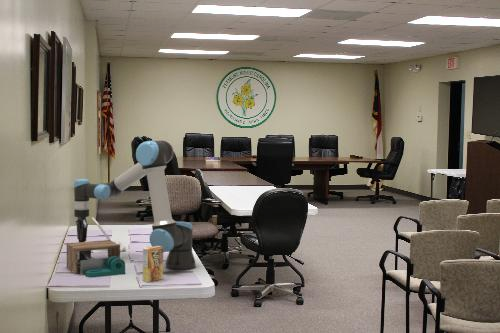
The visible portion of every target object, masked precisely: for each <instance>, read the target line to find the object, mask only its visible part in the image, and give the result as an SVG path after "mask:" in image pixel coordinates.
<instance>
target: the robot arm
mask: <svg viewBox="0 0 500 333" xmlns="http://www.w3.org/2000/svg"><path fill="white" fill-rule="evenodd" d="M174 153H175V151H174V148H173V146H172V145H171V143H169V142H168V141H165V140H147V141H143V142H142V143H140V144H139V145H138V147H137V148H136V150H135V158H136V161H137V163H136V164H135V163H134V165H133V166H131V167H130V168H129V169H126V170H125V171H124V172H122V173H121V174H119V176H117V177H116V178H115V179H113V180H111V181H110V182H105V183H104V182H103V183H90V179H87V178H77V179H75V180H74V187H73V193H74V195H73V196H74V200H73V208H74V212H73V213H74V215H73V216H74V217H75V218H77V220H75V224H76V235H77V237H76V238H77V240H78V242H87V238H88V226H89V223H88V222H87V218H88V217H90V209H89V208H90V205H91V202H90V199H97V200H107V199H108V198H110V197H111V198H112V197H118V196H122V194H123V192H124V191H125V190H126V189H127V188H129V187H130V186H132V185H134V184H135V183H137V182H139V180H141V179H142V178H143V177H145V176H146V180H147V184H148V190H149V196H150V197H149V198H150V203H151V209H152V215H153V221H154V222H153V223H152V225H151V229H152V231H151V232H150V234H149V243H150V245H151V247H154V246H161V247H163V253H167V252H168V253H167V257H166V261H165V269H169V270H174V271H176V270H177V271H178V270H179V271H183V270H184V271H185V270H186V271H187V270H192V269H194V268H196V260H195V256H194V253H193V224H192V223H191V222H189V221H188V222H187V221H178V220H177V221H176V220H174V219H173V216H172V211H171V205H170V199H169V198H170V197H169V193H168V187H167V180H166V175H165V174H166V173H165V169H166V168H167V164H168V163H169V162H170V161H171V160H172V159H173V158H174Z"/></svg>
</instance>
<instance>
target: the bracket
mask: <svg viewBox="0 0 500 333" xmlns="http://www.w3.org/2000/svg"><path fill="white" fill-rule="evenodd" d="M125 274H126V263H125V261H124V259H121V257H120V258H118V257H116V256H113V257H110V258H109V259H108V261H107V268H106V269H96V270H88V271H86V274H85V277H86V278H100V277H101V278H102V277H110V276H118V275H119V276H120V275H125Z"/></svg>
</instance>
